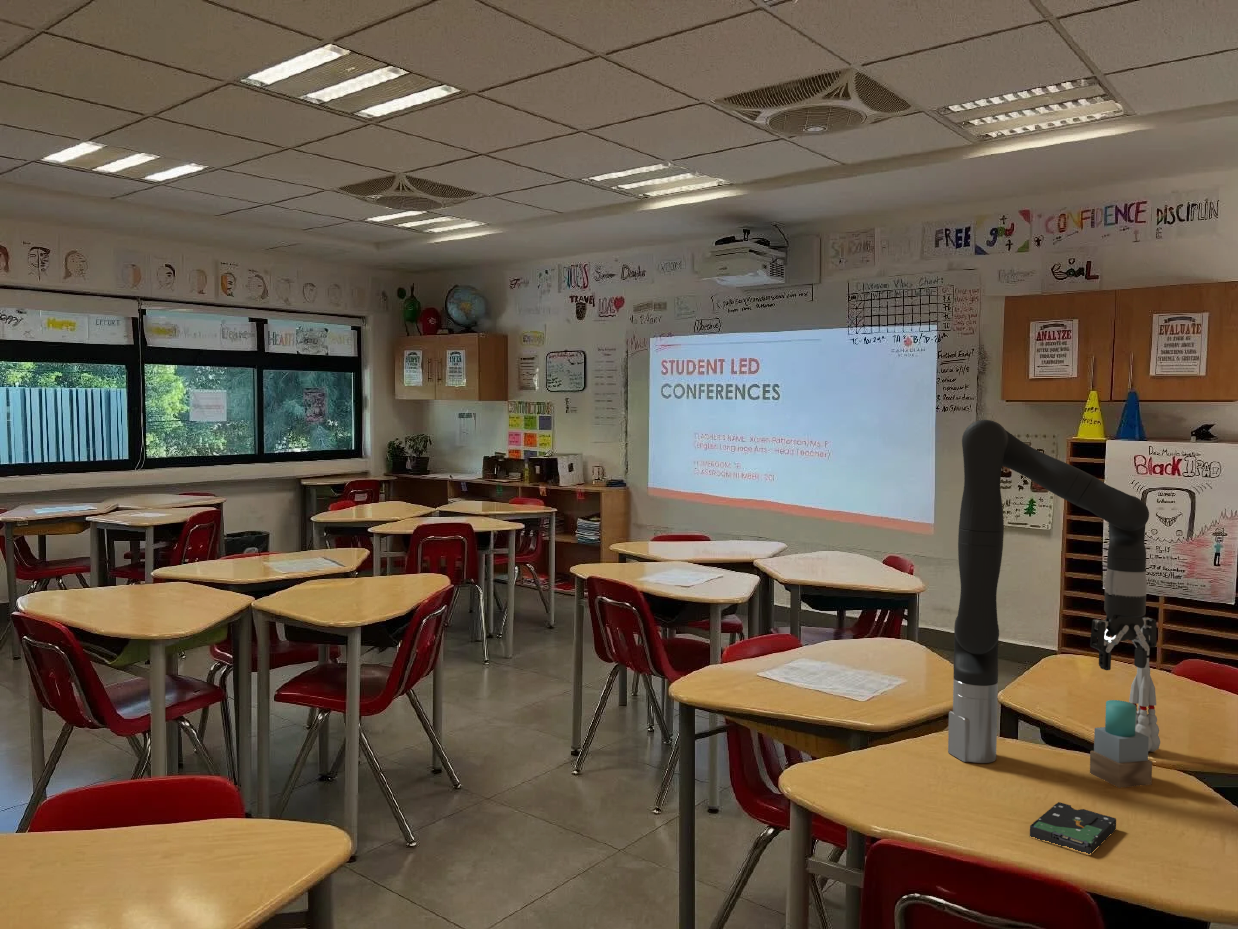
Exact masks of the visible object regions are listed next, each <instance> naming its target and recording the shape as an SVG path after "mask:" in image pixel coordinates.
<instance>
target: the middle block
mask: <svg viewBox="0 0 1238 929" xmlns="http://www.w3.org/2000/svg"><path fill="white" fill-rule="evenodd" d="M1093 737H1094V738H1093V739H1094V740H1093V741H1094V742H1093V743H1094V744H1093V751H1095V752H1097V753H1099V754H1101V755H1103V756H1105V757H1107V758H1109V759H1111V760H1113V761H1116V762H1118V763H1126V762H1138V761H1148V760H1149V751H1148V741H1149V737H1148V736H1146V735H1143V734H1141V733H1139V732H1136V731H1135V736H1133V737H1121V736H1116V735H1112V734H1109V733H1107V732H1106V731H1105V726H1103V727H1094V735H1093Z"/></svg>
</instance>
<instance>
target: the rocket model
mask: <svg viewBox="0 0 1238 929" xmlns="http://www.w3.org/2000/svg"><path fill="white" fill-rule="evenodd" d="M1141 632H1142V629H1141ZM1149 640H1150V636H1149ZM1128 700H1129V701H1128V702H1130V703H1132V704H1134V705H1136V724H1135V731H1136V732H1139V733H1141V734H1143V735H1146V736H1148V737H1149V741H1148V752H1150V753H1151V752H1153V753H1154V752H1156V751H1157V750H1159V749H1160V745H1161V739H1160V735H1159V732H1160V728H1159V727H1160V726H1159V725H1158V724H1157V722H1158V718H1157V715H1156V710H1155V706H1157V696H1156V686H1155V684H1154V681H1153V678H1152V676H1151V668H1150V649H1149V650H1148V651H1147V663H1146V665H1145V668H1138V667H1136V675H1135V676H1134V679H1133V681H1132V683H1131V686H1130V693H1129V699H1128ZM1147 707H1148V708H1147ZM1147 709H1148V710H1147Z"/></svg>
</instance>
